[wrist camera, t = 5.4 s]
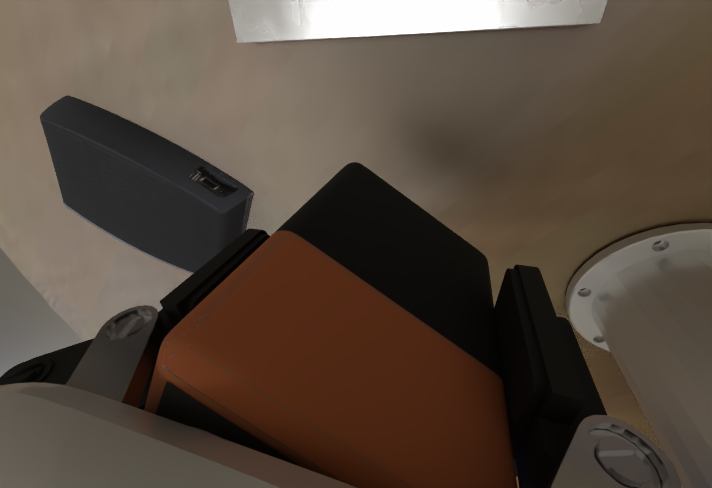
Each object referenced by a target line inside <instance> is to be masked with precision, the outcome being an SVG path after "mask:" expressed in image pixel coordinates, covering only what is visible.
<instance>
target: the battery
mask: <svg viewBox="0 0 712 488" xmlns="http://www.w3.org/2000/svg"><path fill="white" fill-rule="evenodd" d="M144 411H147V412H150V413H153V414H155V415H158V416H161V417H164V418H167V419H169V420H172V421H175V422H178V423H181V424H183V425H186V426H189V427H192V428H195V429H198V430H200V431H203V432H206V433H209V434H211V435H214V436H217V437H220V438H222V439H225V440H228V441H231V442H234V443H236V444H239V445H242V446H245V447H247V448H250V449H253V450H256V451H258V452H261V453H264V454H267V455H269V456H272V457H275V458H278V459H280V460H283V461H286V462H289V463H291V464H294V465H297V466H300V467H302V468H305V469H308V470H311V471H313V472H316V473H319V474H322V475H324V476H327V477H330V478H332V479H335V480H338V481H341V482H343V483H346V484H349V485H351V486H354V487H357V488H517V482H516V474H515V467H514V459H513V451H512V443H511V437H510V429H509V422H508V414H507V406H506V399H505V391H504V383H503V376H502V368H501V360H500V352H499V345H498V337H497V329H496V322H495V314H494V305H493V297H492V289H491V282H490V274H489V267H488V261H487V258H486V257H485V256H484V255H483V254H482V253H481V252H480V251H479V250H477V249H476V248H475V247H473V246H472V245H471V244H469V243H468V242H467V241H465V240H464V239H463V238H461V237H460V236H458V235H457V234H456V233H454V232H453V231H452V230H450V229H449V228H448V227H446V226H445V225H444V224H442V223H441V222H439V221H438V220H437V219H435V218H434V217H433V216H431V215H430V214H429V213H427V212H426V211H425V210H423V209H422V208H421V207H419V206H418V205H416V204H415V203H414V202H412V201H411V200H410V199H408V198H407V197H406V196H404V195H403V194H402V193H400V192H399V191H397V190H396V189H395V188H393V187H392V186H391V185H389V184H388V183H387V182H385V181H384V180H383V179H381V178H380V177H379V176H377V175H376V174H374V173H373V172H372V171H370V170H369V169H368V168H366V167H365V166H363V165H362V164H360V163H356V162H353V163H349V164H347V165H346V166H345V167H344V168H343V169H342V170H340V171H339V172H338V173H337V174H336V175H335V176H334V177H333V178H332V179H331V180H330V181H329V182H328V183H327V184H326V185H325V186H323V187H322V188H321V189H320V190H319V191H318V192H317V193H316V194H315V195H314V196H313V197H312V198H311V199H310V200H309V201H308V202H307V203H305V204H304V205H303V206H302V207H301V208H300V209H299V210H298V211H297V212H296V213H295V214H294V215H293V216H292V217H291V218H290V219H288V220H287V221H286V222H285V223H284V224H283V225H282V226H281V227H280V228H279V229H278V230H277V231H276V232H275V233H274V234H273V235H271V236H270V237H269V238H268V239H267V240H266V241H265V242H264V243H263V244H262V245H261V246H260V247H259V248H258V249H257V250H256V251H254V252H253V253H252V254H251V255H250V256H249V257H248V258H247V259H246V260H245V261H244V262H243V263H242V264H241V265H240V266H239V267H238V268H236V269H235V270H234V271H233V272H232V273H231V274H230V275H229V276H228V277H227V278H226V279H225V280H224V281H223V282H222V283H221V284H219V285H218V286H217V287H216V288H215V289H214V290H213V291H212V292H211V293H210V294H209V295H208V296H207V297H206V298H205V299H204V300H202V301H201V302H200V303H199V304H198V305H197V306H196V307H195V308H194V309H193V310H192V311H191V312H190V313H189V314H188V315H187V316H185V317H184V318H183V319H182V320H181V321H180V322H179V323H178V324H177V325H176V326H175V327H174V328H173V329H172V330H171V331H170V332H169V333H168V334H167V336H166V337H165V338H164V340H163V342H162V344H161V347H160V350H159V353H158V357H157V361H156V365H155V369H154V373H153V377H152V381H151V385H150V389H149V393H148V397H147V401H146V405H145V408H144Z"/></svg>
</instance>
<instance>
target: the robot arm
mask: <svg viewBox="0 0 712 488" xmlns="http://www.w3.org/2000/svg"><path fill="white" fill-rule="evenodd" d="M269 237H270V236H269V235H267V233H266V231H264V230H258V229H248V230H246V231H245V232H244V233H242V234H241V235H240V236H239V237H238V238H236V239H235V240H234V241H233V242H231V243H230V244H229V245H228V246H227V247H225V248H224V249H223V250H222V251H220V252H219V253H218V254H217V255H216V256H214V257H213V258H212V259H211V260H210V261H208V262H207V263H206V264H205V265H203V266H202V267H201V268H200V269H199V270H197V271H196V272H195V273H194V274H192V275H191V276H190V277H189V278H188V279H186V280H185V281H184V282H183V283H181V284H180V285H179V286H178V287H177V288H175V289H174V290H173V291H172V292H170V293H169V294H168V295H167V296H166V297H164V298H163V299H162V300H161V301H160V303H161V305H162V307H163V309H162V310H161V311H159V312H158V311H157V309H156V308H154V307H153V306H147V305H144V306H137V307H133V308H129V309H127V310H125V311H122V312H120V313H118V314H117V315H115V316H113V317H112V318H111V319H109V320H108V321H107V322H106V323H105V324H104V325H103V326H102V327H101V329H100V330H99V332H98V333H97V335H96V337H95V338H94V339H91V340H88V341H85V342H81V343H78V344H75V345H72V346H69V347H66V348H63V349H60V350H57V351H54V352H51V353H48V354H45V355H42V356H39V357H36V358H33V359H31V360H28V361H26V362H23V363H20V364H18V365H16V366H14V367H13V368H11V369H10V370H8V371H7V372H6V373H5V374H4V375H3V376H1V377H0V488H357V487H354V486H351V485H349V484H346V483H343V482H341V481H338V480H335V479H332V478H330V477H327V476H324V475H322V474H319V473H316V472H313V471H311V470H308V469H305V468H302V467H300V466H297V465H294V464H291V463H289V462H286V461H283V460H280V459H278V458H275V457H272V456H269V455H267V454H264V453H261V452H258V451H256V450H253V449H250V448H247V447H245V446H242V445H239V444H236V443H234V442H231V441H228V440H225V439H222V438H220V437H217V436H214V435H211V434H209V433H206V432H203V431H200V430H198V429H195V428H192V427H189V426H186V425H183V424H181V423H178V422H175V421H172V420H169V419H167V418H164V417H161V416H158V415H155V414H153V413H150V412H147V411H144V408H145V405H146V401H147V397H148V393H149V389H150V385H151V381H152V377H153V373H154V369H155V365H156V361H157V357H158V353H159V350H160V347H161V344H162V342H163V340H164V338H165V337H166V336H167V334H168V333H169V332H170V331H171V330H172V329H173V328H174V327H175V326H176V325H177V324H178V323H179V322H180V321H181V320H182V319H183V318H184V317H185V316H187V315H188V314H189V313H190V312H191V311H192V310H193V309H194V308H195V307H196V306H197V305H198V304H199V303H200V302H201V301H202V300H204V299H205V298H206V297H207V296H208V295H209V294H210V293H211V292H212V291H213V290H214V289H215V288H216V287H217V286H218V285H219V284H221V283H222V282H223V281H224V280H225V279H226V278H227V277H228V276H229V275H230V274H231V273H232V272H233V271H234V270H235V269H236V268H238V267H239V266H240V265H241V264H242V263H243V262H244V261H245V260H246V259H247V258H248V257H249V256H250V255H251V254H252V253H253V252H254V251H256V250H257V249H258V248H259V247H260V246H261V245H262V244H263V243H264V242H265V241H266V240H267V239H268V238H269ZM565 308H566V311H567V314H568V316H569V319H570V321H571V323H572V325H573V327H574V328H575V330H576V331H577V332H578V333H579V334H580V335H581V336H582V337H583V338H584V339H586V340H587V341H588V342H590V343H591V344H593V345H595V346H598V347H600V348H602V349H604V350H606V351H610V352H611V353H612V355H613V357H614V359H615V361H616V363H617V365H618V367H619V369H620V370H621V372H622V374H623V376H624V378H625V380H626V382H627V384H628V386H629V387H630V389H631V391H632V393H633V395H634V397H635V399H636V401H637V402H638V404H639V406H640V408H641V410H642V412H643V414H644V416H645V418H646V419H647V421H648V423H649V425H650V427H651V429H652V431H653V433H654V435H655V436H656V438H657V440H658V442H659V444H660V446H661V448H662V449H661V448H660V447H659V446H658V445H657V444H656V443H655V442H654V441H653V440H651V439H650V438H649V437H648V436H647V435H645V434H644V433H642V432H641V431H640V430H638V429H637V428H636V427H634V426H632V425H630V424H628V423H626V422H624V421H622V420H620V419H617V418H614V417H610V416H607V413H606V411H605V408H604V406H603V404H602V401H601V399H600V396H599V394H598V391H597V389H596V386H595V384H594V381H593V379H592V376H591V374H590V372H589V369H588V367H587V364H586V362H585V359H584V357H583V354H582V352H581V349H580V347H579V344H578V342H577V339H576V337H575V335H574V332H573V330H572V327H571V325H570V323H569V321H568V320H567V319H566V318H562V317H557V316H556V313H555V311H554V308H553V305H552V302H551V300H550V297H549V294H548V291H547V289H546V286H545V283H544V281H543V278H542V275H541V272H540V270H539V268H537V267H531V266H523V265H515V267H514V269H509V268H508V269H507V270H506V273H505V276H504V279H503V282H502V285H501V289H500V292H499V295H498V298H497V301H496V305H495V308H494V314H495V322H496V329H497V337H498V345H499V352H500V360H501V368H502V376H503V383H504V391H505V399H506V406H507V414H508V422H509V429H510V437H511V443H512V451H513V459H514V467H515V474H516V476H518V481H519V488H681V485H682V487H683V488H712V223H692V224H678V225H673V226H667V227H661V228H656V229H652V230H649V231H646V232H642V233H639V234H635V235H633V236H630V237H628V238H626V239H623V240H621V241H619V242H616V243H614V244H612V245H611V246H609V247H607V248H606V249H604V250H602V251H600V252H599V253H597V254H596V255H595V256H593V257H592V258H591V259H590V260H588V261H587V262H586V263H585V264H584V265H583V266H582V267H581V268H580V269H579V270H578V271H577V273H576V274H575V275H574V276H573V278H572V280H571V282H570V283H569V285H568V288H567V292H566V295H565Z"/></svg>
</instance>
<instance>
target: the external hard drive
mask: <svg viewBox="0 0 712 488" xmlns="http://www.w3.org/2000/svg"><path fill="white" fill-rule="evenodd" d="M40 120H41V123H42V126H43V129H44V133H45V136H46V140H47V143H48V146H49V150H50V154H51V157H52V161H53V164H54V168H55V172H56V175H57V179H58V183H59V187H60V190H61V194H62V198H63V203H64V205H65V206H66V207H67V208H68V209H70V210H71V211H73V212H74V213H76V214H77V215H78V216H80V217H81V218H83V219H84V220H86V221H88V222H89V223H91V224H92V225H94V226H95V227H97V228H99V229H100V230H102V231H104V232H105V233H107V234H109V235H110V236H112V237H114V238H116V239H117V240H119V241H121V242H123V243H125V244H126V245H128V246H130V247H132V248H134V249H136V250H138V251H140V252H142V253H144V254H146V255H148V256H150V257H152V258H154V259H156V260H159V261H161V262H163V263H166V264H168V265H171V266H173V267H176V268H178V269H181V270H183V271H186V272H188V273H191V274H194V273H195V272H196V271H197V270H199V269H200V268H201V267H202V266H203V265H205V264H206V263H207V262H208V261H210V260H211V259H212V258H213V257H214V256H216V255H217V254H218V253H219V252H220V251H222V250H223V249H224V248H225V247H227V246H228V245H229V244H230V243H231V242H233V241H234V240H235V239H236V238H238V237H239V236H240V235H241V234H242V233H244V232H245V230H246V225H247V220H248V215H249V210H250V205H251V201H252V196H253V192H252V191H250V190H249V189H248V188H247V187H246V186H245V185H243V184H241V183H240V182H238V181H237V180H235V179H234V178H232V177H230V176H229V175H227V174H226V173H224V172H222V171H221V170H219V169H217V168H216V167H214V166H213V165H211V164H209V163H207V162H206V161H204V160H202V159H201V158H199V157H197V156H195V155H193V154H192V153H190V152H188V151H186V150H185V149H183V148H181V147H179V146H177V145H175V144H174V143H172V142H170V141H168V140H166V139H164V138H162V137H160V136H158V135H157V134H155V133H153V132H151V131H149V130H147V129H145V128H142V127H140V126H138V125H136V124H134V123H132V122H130V121H128V120H126V119H124V118H121V117H119V116H117V115H115V114H113V113H110V112H108V111H106V110H104V109H101V108H99V107H97V106H94V105H92V104H89V103H86V102H84V101H82V100H79V99H76V98H74V97H70V96H65V97H63V98H61V99H60V100H58V101H56V102H55V103H54V104H52V105H51V106H50V107H48V108H47V109H46V110H45V111H44V112H43V113H42V114H41V115H40Z"/></svg>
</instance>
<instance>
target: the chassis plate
mask: <svg viewBox="0 0 712 488" xmlns="http://www.w3.org/2000/svg"><path fill="white" fill-rule="evenodd" d="M607 1H608V0H229V5H230V9H231V14H232V19H233V23H234V28H235V33H236V37H237V42H238V43H271V42H290V41H308V40H327V39H346V38H364V37H383V36H402V35H421V34H439V33H458V32H477V31H495V30H514V29H533V28H551V27H570V26H586V25H592V24H597V23H600V21H601V19H602V16H603V13H604V10H605V7H606V4H607Z"/></svg>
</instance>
